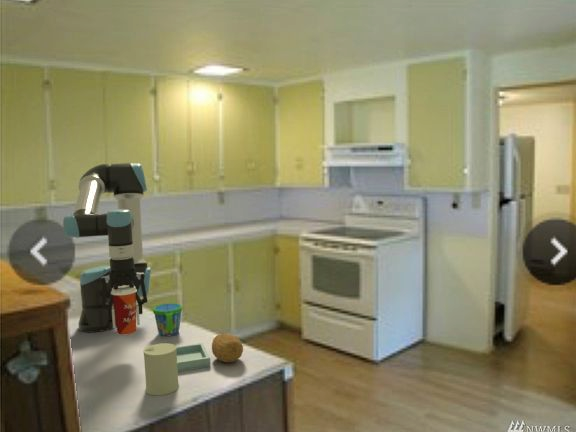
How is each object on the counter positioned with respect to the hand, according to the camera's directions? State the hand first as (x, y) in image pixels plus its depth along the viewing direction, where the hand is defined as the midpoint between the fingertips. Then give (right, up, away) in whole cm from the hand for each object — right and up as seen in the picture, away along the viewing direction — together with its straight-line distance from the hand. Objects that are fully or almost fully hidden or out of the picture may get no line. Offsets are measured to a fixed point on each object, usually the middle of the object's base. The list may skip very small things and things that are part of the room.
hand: (126, 325), depth 168 cm
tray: (+21, -10, -5) cm, 24 cm away
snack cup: (+9, -8, +22) cm, 25 cm away
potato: (+34, -10, -5) cm, 36 cm away
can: (+18, -13, -24) cm, 32 cm away
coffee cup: (0, -2, 0) cm, 2 cm away
